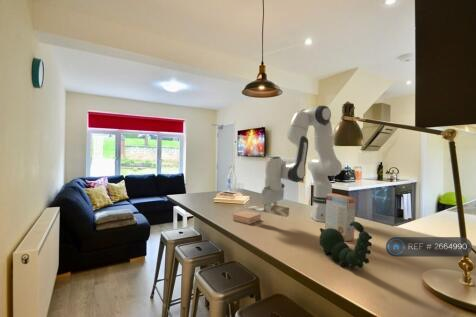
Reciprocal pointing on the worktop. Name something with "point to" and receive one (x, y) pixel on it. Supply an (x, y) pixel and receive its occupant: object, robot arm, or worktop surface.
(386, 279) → the worktop surface
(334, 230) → the toy figurine
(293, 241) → the worktop surface
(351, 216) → the cracker box
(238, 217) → the tile
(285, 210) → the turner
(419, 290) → the worktop surface
